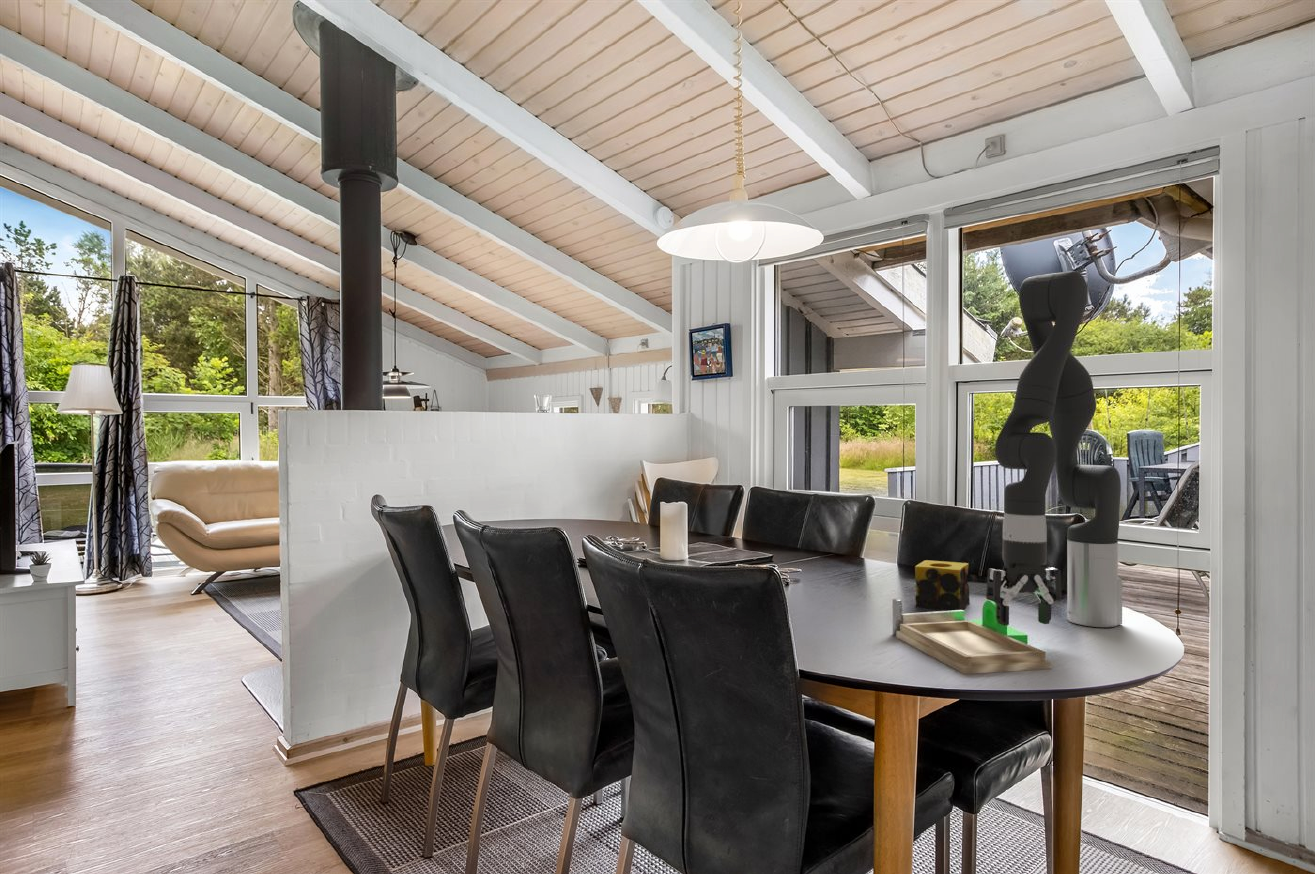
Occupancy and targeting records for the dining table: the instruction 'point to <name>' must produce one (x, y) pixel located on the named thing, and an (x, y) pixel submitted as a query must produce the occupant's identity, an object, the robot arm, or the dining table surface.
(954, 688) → the dining table surface
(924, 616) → the l-shaped metal bracket
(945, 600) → the yellow spotted cube
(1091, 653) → the dining table surface
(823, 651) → the dining table surface
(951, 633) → the wooden tray
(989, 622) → the mechanical part
